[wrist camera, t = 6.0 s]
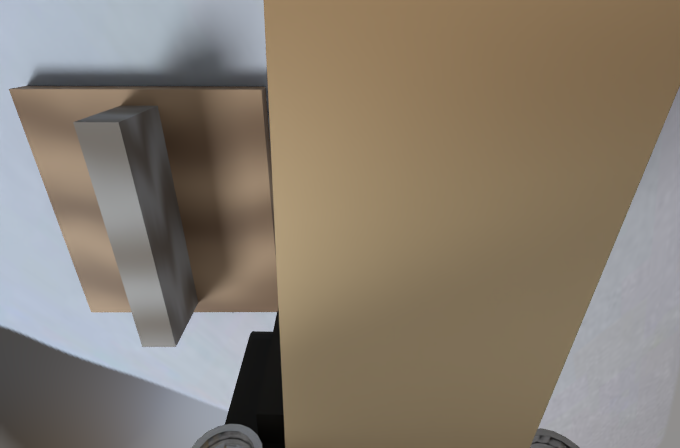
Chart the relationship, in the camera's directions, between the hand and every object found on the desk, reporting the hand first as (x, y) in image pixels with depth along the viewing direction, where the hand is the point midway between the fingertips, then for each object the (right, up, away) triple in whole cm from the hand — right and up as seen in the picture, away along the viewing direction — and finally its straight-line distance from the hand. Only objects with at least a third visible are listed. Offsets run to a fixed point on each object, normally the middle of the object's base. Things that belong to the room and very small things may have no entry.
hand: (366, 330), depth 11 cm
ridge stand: (-14, +4, +19) cm, 24 cm away
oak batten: (0, 0, +1) cm, 1 cm away
